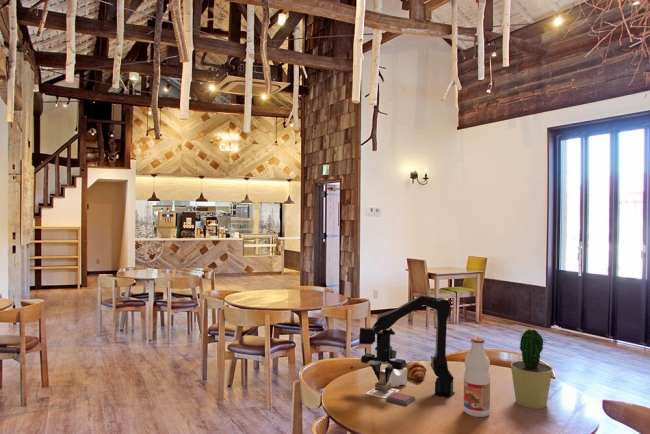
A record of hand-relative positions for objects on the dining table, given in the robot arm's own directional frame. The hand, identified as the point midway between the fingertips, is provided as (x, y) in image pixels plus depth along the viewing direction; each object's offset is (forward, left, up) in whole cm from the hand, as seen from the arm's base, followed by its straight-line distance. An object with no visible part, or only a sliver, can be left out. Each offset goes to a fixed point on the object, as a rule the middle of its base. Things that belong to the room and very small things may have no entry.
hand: (383, 381), depth 210 cm
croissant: (-2, -29, -5) cm, 29 cm away
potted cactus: (-54, -23, -5) cm, 59 cm away
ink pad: (-10, +4, -4) cm, 12 cm away
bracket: (+2, -15, -5) cm, 16 cm away
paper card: (0, 0, -4) cm, 4 cm away
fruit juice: (-39, -1, -5) cm, 39 cm away
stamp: (0, 0, -3) cm, 3 cm away
